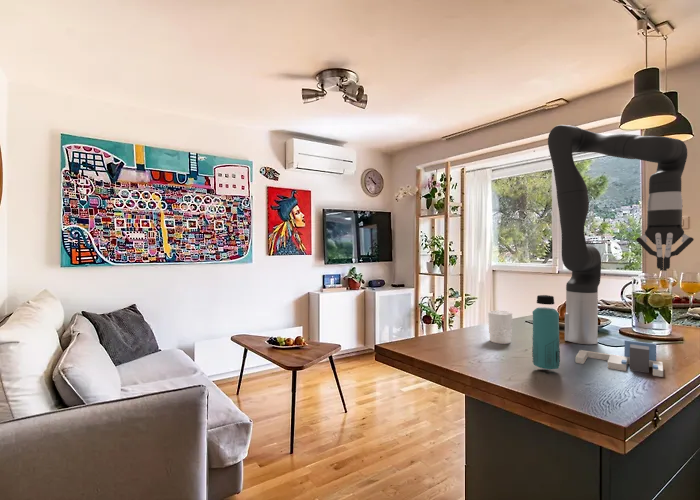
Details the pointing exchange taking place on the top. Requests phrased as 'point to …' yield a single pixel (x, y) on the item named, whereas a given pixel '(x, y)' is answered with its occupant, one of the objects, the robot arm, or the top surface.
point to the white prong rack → (623, 358)
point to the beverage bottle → (545, 335)
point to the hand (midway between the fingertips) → (663, 270)
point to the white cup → (500, 326)
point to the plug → (639, 358)
